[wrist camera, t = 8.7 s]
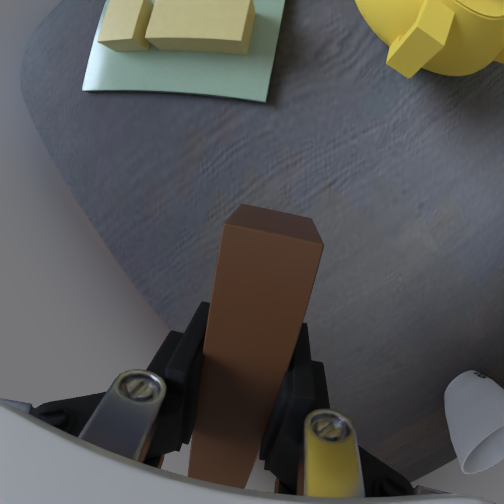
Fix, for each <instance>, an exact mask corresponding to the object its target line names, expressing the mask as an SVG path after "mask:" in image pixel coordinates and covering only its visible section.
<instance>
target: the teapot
mask: <svg viewBox="0 0 504 504" xmlns="http://www.w3.org/2000/svg"><path fill="white" fill-rule="evenodd" d="M355 1H356V4H357V6H358V9H359V11H360V13H361V14H362V16H363V18H364V19H365V21H366V22H367V24H368V25H369V26H370V28H371V29H372V30H373V31H374V32H375V34H376V35H377V36H378V37H379V38H380V39H381V40H382V41H383V42H384V43H385V44H386V45H388V46H389V52H388V56H387V61H386V64H387V65H389V66H390V67H392V68H393V69H395V70H396V71H398V72H399V73H401V74H402V75H404V76H405V77H407V78H408V79H410V78H411V77H412V76H413V75H414V74H415V73H416V72H417V71H418V70H419V69H420V68H423V69H426V70H428V71H431V72H434V73H438V74H442V75H447V76H466V75H470V74H473V73H475V72H477V71H479V70H481V69H483V68H485V67H486V66H487V65H489V64H490V63H491V62H492V61H496V62H499V63H502V64H504V0H355Z"/></svg>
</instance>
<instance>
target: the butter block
mask: <svg viewBox="0 0 504 504" xmlns="http://www.w3.org/2000/svg"><path fill="white" fill-rule="evenodd" d="M255 15H256V11H255V7H254V2H253V0H156V1H155V4H154V8H153V11H152V14H151V18H150V21H149V25H148V28H147V32H146V35H145V39H147V40H148V41H149V42H151V43H152V44H153V45H154V46H156V47H157V48H158V49H159V50H178V51H203V52H218V53H230V54H240V55H247V52H248V47H249V43H250V38H251V33H252V28H253V24H254V19H255Z"/></svg>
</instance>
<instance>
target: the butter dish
mask: <svg viewBox="0 0 504 504" xmlns="http://www.w3.org/2000/svg"><path fill="white" fill-rule="evenodd" d="M109 1H110V0H106V3H105V6H104V9H103V12H102V15H101V18H100V21H99V24H98V28H97V31H96V35H95V38H94V42H93V45H92V49H91V53H90V57H89V61H88V65H87V69H86V74H85V78H84V83H83V88H82V91H85V92H105V91H130V92H161V93H178V94H192V95H203V96H213V97H222V98H230V99H238V100H245V101H252V102H259V103H266V102H267V97H268V92H269V86H270V81H271V76H272V70H273V65H274V60H275V54H276V49H277V44H278V39H279V34H280V28H281V23H282V18H283V13H284V8H285V3H286V0H253V2H254V7H255V11H256V15H255V19H254V24H253V28H252V33H251V38H250V43H249V47H248V52H247V55H240V54H230V53H218V52H203V51H178V50H159V49H158V48H157V47H156V46H154V45H153V44H152V43H150V47H149V50H148V51H122V52H115V51H113V50H112V49H110V48H108V47H106V46H104V45H102V44H100V43H98V42H97V40H98V36H99V33H100V29H101V26H102V23H103V19H104V16H105V13H106V10H107V7H108V4H109ZM151 1H152V2H153V3H154V4H155V1H156V0H151Z"/></svg>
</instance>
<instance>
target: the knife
mask: <svg viewBox="0 0 504 504" xmlns="http://www.w3.org/2000/svg"><path fill="white" fill-rule="evenodd" d="M323 248H324V244H323V241H322V239H321V237H320V235H319V233H318V231H317V229H316V227H315V224H314V222H313V220H312V219H311V218H307V217H302V216H298V215H293V214H289V213H284V212H279V211H275V210H270V209H265V208H260V207H255V206H250V205H245V204H241V205H240V206H239V207H238V208H237V209H236V210H235V211H234V212H233V214H232V215H231V216H230V217H229V218H228V219H227V220H226V221H225V222H224V224H223V227H222V233H221V239H220V245H219V251H218V257H217V263H216V269H215V275H214V282H213V288H212V294H211V301H210V307H209V314H208V321H207V327H206V334H205V341H204V348H203V355H204V359H203V366H202V373H201V380H200V387H199V395H198V402H197V410H196V417H195V425H194V429H193V433H192V441H191V450H190V460H189V468H188V477H191V478H195V479H199V480H203V481H207V482H212V483H216V484H221V485H226V486H232V487H237V488H243V489H245V486H246V484H247V481H248V479H249V476H250V474H251V471H252V469H253V466H254V463H255V461H256V458H257V456H258V453H259V450H260V445H261V440H262V437H263V434H264V432H265V429H266V426H267V423H268V420H269V418H270V415H271V412H272V409H273V406H274V403H275V400H276V397H277V394H278V391H279V388H280V385H281V382H282V379H283V376H284V373H285V372H287V371H288V368H289V365H290V362H291V359H292V355H293V352H294V349H295V346H296V343H297V340H298V336H299V333H300V330H301V326H302V323H303V320H304V316H305V313H306V310H307V306H308V303H309V299H310V296H311V292H312V289H313V285H314V281H315V278H316V274H317V270H318V267H319V263H320V259H321V255H322V252H323Z"/></svg>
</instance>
